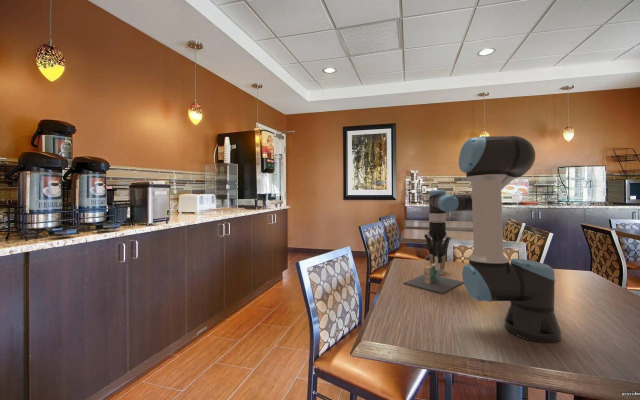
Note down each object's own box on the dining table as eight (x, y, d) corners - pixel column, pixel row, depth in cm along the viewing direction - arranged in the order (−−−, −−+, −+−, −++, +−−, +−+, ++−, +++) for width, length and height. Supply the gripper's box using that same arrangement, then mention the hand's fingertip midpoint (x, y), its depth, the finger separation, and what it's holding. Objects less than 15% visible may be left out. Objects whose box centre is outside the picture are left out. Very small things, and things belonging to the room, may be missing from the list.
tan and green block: (430, 284, 145) (430, 267, 145) (424, 282, 147) (424, 266, 147) (438, 280, 151) (438, 264, 150) (433, 279, 153) (433, 263, 153)
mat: (442, 294, 133) (442, 292, 133) (403, 284, 148) (403, 282, 148) (463, 283, 148) (463, 281, 148) (426, 275, 162) (426, 273, 162)
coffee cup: (448, 272, 166) (448, 246, 166) (445, 277, 158) (445, 249, 158) (430, 270, 172) (430, 244, 171) (426, 274, 163) (426, 247, 163)
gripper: (454, 221, 143) (454, 270, 144) (428, 220, 152) (429, 265, 153) (446, 223, 138) (446, 273, 139) (421, 221, 148) (421, 268, 149)
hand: (437, 269), depth 146 cm, fingers closed
